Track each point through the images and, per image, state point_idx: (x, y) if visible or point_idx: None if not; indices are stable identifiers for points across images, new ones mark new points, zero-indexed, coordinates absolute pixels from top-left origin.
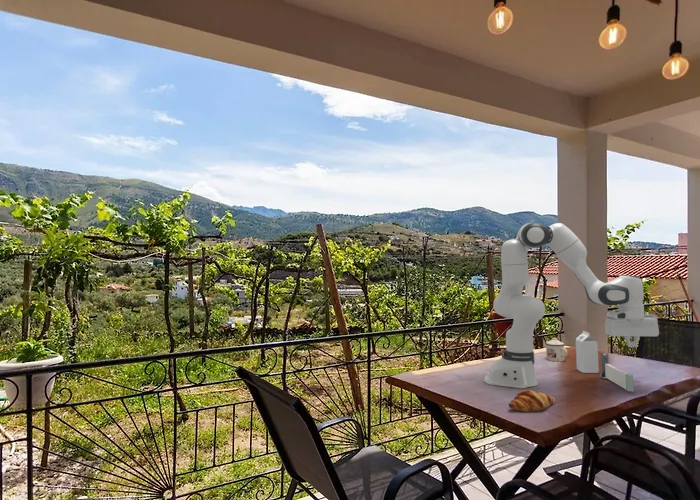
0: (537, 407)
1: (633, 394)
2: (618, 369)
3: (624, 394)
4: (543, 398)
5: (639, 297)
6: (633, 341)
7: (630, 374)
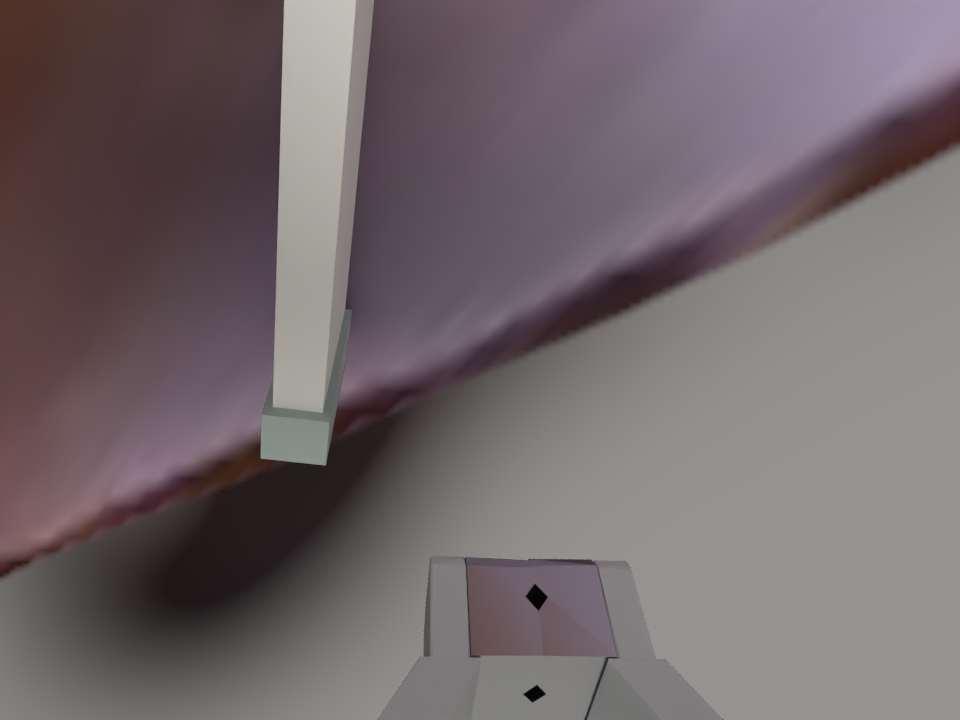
0: None
1: None
2: (327, 131)
3: (250, 339)
4: None
5: None
6: (623, 690)
7: (313, 437)
